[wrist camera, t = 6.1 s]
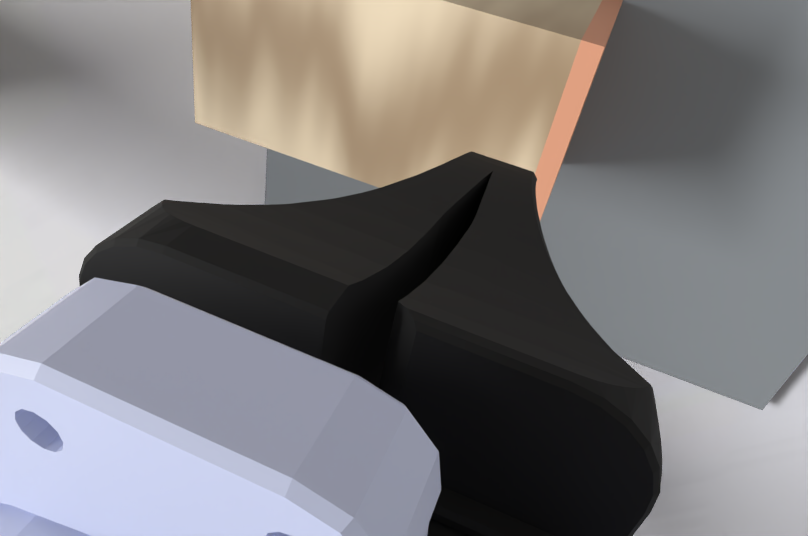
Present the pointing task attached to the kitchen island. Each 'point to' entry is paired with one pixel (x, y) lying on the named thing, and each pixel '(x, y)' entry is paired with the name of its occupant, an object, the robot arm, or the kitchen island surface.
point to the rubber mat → (678, 193)
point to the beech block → (400, 80)
